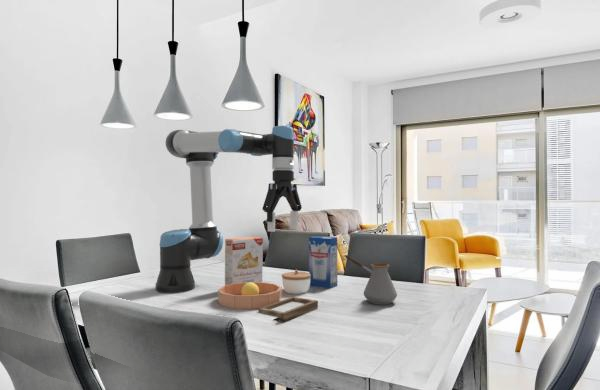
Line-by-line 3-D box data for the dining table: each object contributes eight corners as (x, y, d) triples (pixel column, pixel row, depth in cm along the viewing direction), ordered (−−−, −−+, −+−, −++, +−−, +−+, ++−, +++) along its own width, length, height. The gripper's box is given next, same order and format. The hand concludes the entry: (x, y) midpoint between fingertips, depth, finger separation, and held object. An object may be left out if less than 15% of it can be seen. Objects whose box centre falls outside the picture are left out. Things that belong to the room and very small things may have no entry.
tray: (258, 316, 124) (258, 308, 124) (293, 303, 138) (293, 296, 138) (284, 322, 118) (284, 313, 118) (317, 308, 133) (317, 300, 133)
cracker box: (232, 296, 149) (232, 239, 149) (224, 294, 153) (224, 238, 153) (263, 291, 158) (263, 237, 158) (254, 288, 162) (254, 236, 163)
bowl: (205, 306, 135) (205, 290, 135) (248, 294, 152) (248, 279, 152) (252, 317, 123) (252, 299, 123) (293, 302, 140) (292, 286, 140)
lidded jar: (307, 299, 145) (307, 273, 145) (278, 297, 147) (278, 272, 147) (313, 292, 155) (312, 267, 155) (285, 291, 158) (285, 267, 158)
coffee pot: (403, 301, 141) (403, 258, 141) (386, 308, 133) (385, 262, 133) (352, 292, 156) (352, 253, 156) (334, 297, 147) (334, 256, 147)
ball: (237, 300, 137) (237, 283, 137) (249, 297, 142) (249, 280, 142) (250, 303, 134) (250, 285, 134) (262, 299, 138) (262, 282, 138)
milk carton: (337, 285, 167) (337, 237, 167) (330, 288, 161) (330, 238, 162) (316, 283, 172) (316, 236, 172) (309, 285, 167) (308, 237, 167)
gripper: (269, 167, 131) (269, 233, 131) (310, 171, 152) (310, 228, 151) (251, 168, 135) (252, 232, 135) (294, 172, 156) (294, 227, 156)
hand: (283, 230), depth 143 cm, fingers open, 13 cm apart
